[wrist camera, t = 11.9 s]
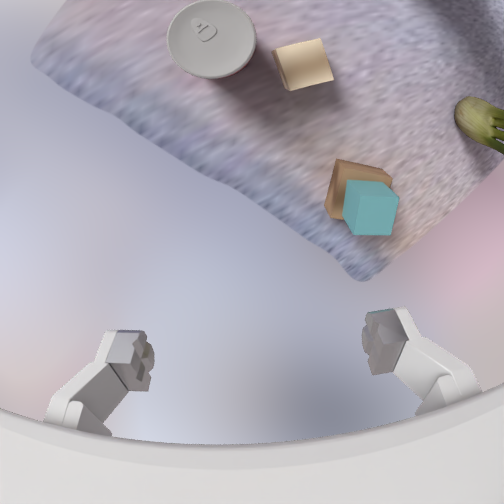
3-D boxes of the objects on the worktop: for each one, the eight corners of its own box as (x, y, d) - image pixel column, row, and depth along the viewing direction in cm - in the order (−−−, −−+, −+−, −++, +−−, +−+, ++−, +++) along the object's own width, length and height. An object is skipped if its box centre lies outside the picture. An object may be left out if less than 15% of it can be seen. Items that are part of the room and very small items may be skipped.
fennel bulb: (462, 136, 36) (513, 164, 26) (443, 117, 34) (496, 140, 24) (478, 109, 33) (531, 130, 23) (459, 88, 31) (515, 104, 21)
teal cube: (347, 179, 36) (360, 195, 32) (382, 182, 36) (399, 197, 32) (341, 215, 39) (353, 234, 35) (376, 216, 39) (390, 235, 35)
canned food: (210, 8, 27) (197, -15, 18) (266, 39, 30) (275, 27, 20) (174, 57, 30) (148, 53, 21) (230, 88, 33) (224, 94, 24)
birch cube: (271, 51, 31) (275, 48, 26) (310, 41, 30) (320, 38, 26) (284, 88, 33) (290, 91, 29) (322, 78, 32) (334, 79, 28)
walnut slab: (335, 158, 38) (344, 167, 35) (381, 168, 39) (392, 178, 36) (323, 204, 42) (330, 217, 39) (367, 211, 43) (376, 225, 40)
